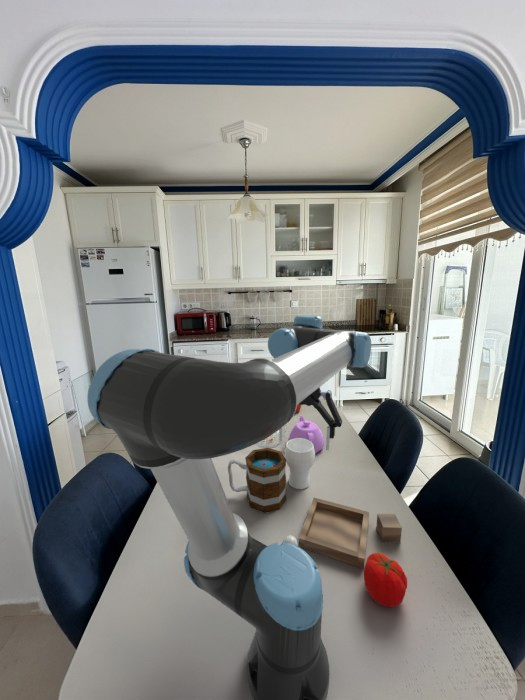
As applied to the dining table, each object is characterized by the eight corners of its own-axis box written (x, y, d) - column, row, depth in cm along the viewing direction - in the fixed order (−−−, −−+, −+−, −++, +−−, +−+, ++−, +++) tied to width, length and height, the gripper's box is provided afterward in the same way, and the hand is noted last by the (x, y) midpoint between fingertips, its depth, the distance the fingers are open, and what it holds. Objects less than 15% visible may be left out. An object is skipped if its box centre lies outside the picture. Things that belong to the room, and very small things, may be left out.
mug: (287, 486, 107) (287, 448, 103) (285, 515, 94) (285, 472, 90) (233, 483, 109) (231, 445, 106) (224, 510, 96) (222, 468, 93)
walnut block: (400, 542, 83) (401, 527, 82) (382, 542, 83) (383, 527, 82) (393, 528, 88) (394, 513, 87) (376, 527, 88) (377, 513, 87)
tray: (363, 568, 76) (364, 559, 75) (299, 547, 82) (299, 538, 81) (368, 520, 91) (369, 512, 90) (313, 505, 97) (313, 497, 97)
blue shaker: (295, 576, 74) (295, 546, 72) (280, 570, 75) (279, 541, 74) (299, 562, 78) (300, 534, 76) (285, 557, 79) (285, 529, 77)
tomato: (379, 621, 64) (382, 590, 62) (352, 577, 74) (354, 549, 72) (415, 608, 66) (419, 578, 64) (385, 567, 76) (387, 540, 74)
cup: (313, 494, 103) (314, 454, 99) (282, 490, 105) (282, 451, 101) (314, 474, 113) (315, 438, 110) (286, 471, 115) (286, 436, 112)
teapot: (331, 459, 123) (332, 432, 120) (293, 461, 121) (293, 434, 119) (316, 433, 144) (317, 409, 142) (284, 435, 143) (284, 411, 140)
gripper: (355, 373, 81) (350, 445, 85) (268, 364, 90) (268, 430, 94) (352, 380, 74) (347, 458, 78) (259, 370, 83) (259, 441, 87)
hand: (304, 443), depth 86 cm, fingers open, 13 cm apart
